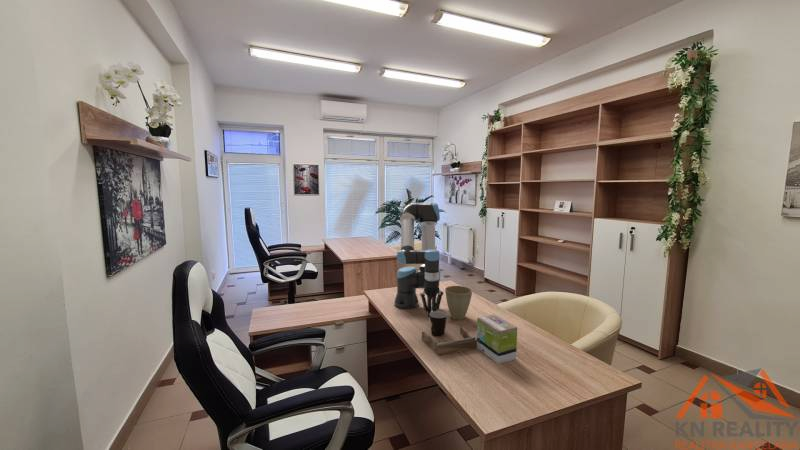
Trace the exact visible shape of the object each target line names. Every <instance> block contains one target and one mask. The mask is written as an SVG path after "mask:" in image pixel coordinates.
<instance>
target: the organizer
mask: <svg viewBox="0 0 800 450" xmlns="http://www.w3.org/2000/svg"><path fill="white" fill-rule="evenodd" d="M459 329H460V330H459V333H460V335H461V337H462V338H461V339H456V340H450V341H443V342H438V341H436V340H435V338H433V337H431V335H429V334H428V333H427V332H425V331H422V332H421V341H422V342H424V344H426V345H427V346H428V347H429V348H431V349H432V350H433V351H434V352H435V353H436V355H438V356H443V355H444V356H445V355H449V354H455V353H461V352H466V351H470V350H476V349H478V348H477V336H472V335H471V334H470V333H469V331H467V329H466V328H465V327H464V326H463V325H461V326H460V327H459Z"/></svg>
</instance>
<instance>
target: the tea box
mask: <svg viewBox="0 0 800 450" xmlns="http://www.w3.org/2000/svg"><path fill="white" fill-rule="evenodd" d="M476 318H477V319H476V320H477V321H476V324H477V325H476V340H477V349H478V350H480V351H481V352H482V353H483V354H485V355H486V356H487V357H488V358H490V359H492V361H494V363H496V364H497V365H499V364H503V363H506V362H511V361H514V360H517V346H518V344H517V343H518V326H516V325H514V324H512V323H511V322H508V321H507V320H505V319H503V318H502V317H500V316H498V315H496V314H489V315H485V316H480V317H476Z"/></svg>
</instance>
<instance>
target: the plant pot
mask: <svg viewBox="0 0 800 450" xmlns="http://www.w3.org/2000/svg"><path fill="white" fill-rule="evenodd" d="M444 292H445V298H446V303H447V308H448V310H449V315H450V317H451V318H452V319H454V320H464V319H465V317H466V315H467V313H468V310H469V307H470V303H471V301H472V297H473V296H472V294H473V290H472V289H471V288H470V287H469V286H468V287H467V286H463V285H451V286H447V287H445V289H444Z"/></svg>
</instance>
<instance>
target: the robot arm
mask: <svg viewBox="0 0 800 450" xmlns="http://www.w3.org/2000/svg"><path fill="white" fill-rule="evenodd" d="M440 216H441V215H440V209H439V204H437V202H431V201H429V202H425V201H424V202H416V201H415V202H411V203H408V204H407V205H406V206H405V207H404V208H403V209H402V210H401V212H400V215H399V221H400V223H401V226H400V227H401V228H400V229H401V230H400V231H401V233H400V237H401V238H400V249H399V250H397V251H396V263H397V264H400V265H412V264H413V265H414V264H416V265H419V268H418V269H417V268H416V266H404V267H400V268H398V270H397V272H396V273H397V274H396V275H397V276H396V279H397V281H396V286H397V287H396V290H397V293H396V294H395V295H396V296H395V298H394V300H393V301H394V304H393V305H394V307H396V308H400V309H414V308H417V307H418V306H419V302H420V301H419V298H418V295H417V289H423V292H420V293H419V296H420V297H421V301H422V305H423V309H424V310H425V311H426V312H427V318H428V323H429V324H430V315H429V314H430V313H431V312H434V311H440V310H439V309H440V305H441V301H442V297H443V295H444V292H445V291H442V290H441V289H440V281H441V269H440V251H439V250H438V249H436V226H437V224H438V222H439V221H440V220H441V219H440ZM416 221H417V222H418V224H419V226H421V249H419V250H417V249H416V250H415V226H414V224H415V222H416Z"/></svg>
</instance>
